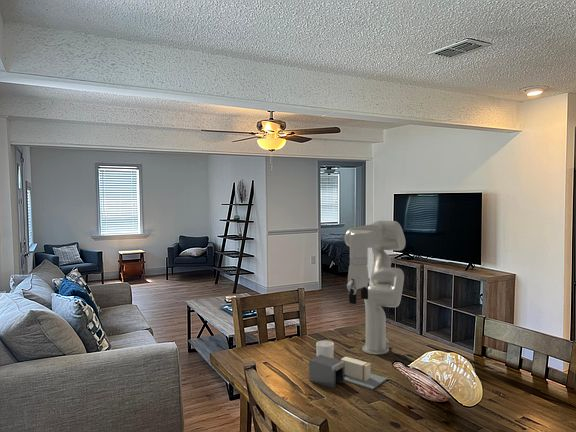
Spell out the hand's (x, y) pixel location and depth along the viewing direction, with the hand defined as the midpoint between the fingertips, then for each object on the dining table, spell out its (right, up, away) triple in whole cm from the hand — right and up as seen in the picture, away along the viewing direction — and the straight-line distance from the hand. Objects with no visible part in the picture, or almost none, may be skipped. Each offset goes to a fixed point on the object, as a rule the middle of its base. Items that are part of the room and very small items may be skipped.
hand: (358, 301), depth 186 cm
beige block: (-2, -30, -6) cm, 30 cm away
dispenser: (-15, -31, -10) cm, 35 cm away
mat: (+1, -30, -8) cm, 32 cm away
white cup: (-14, -30, +7) cm, 34 cm away
